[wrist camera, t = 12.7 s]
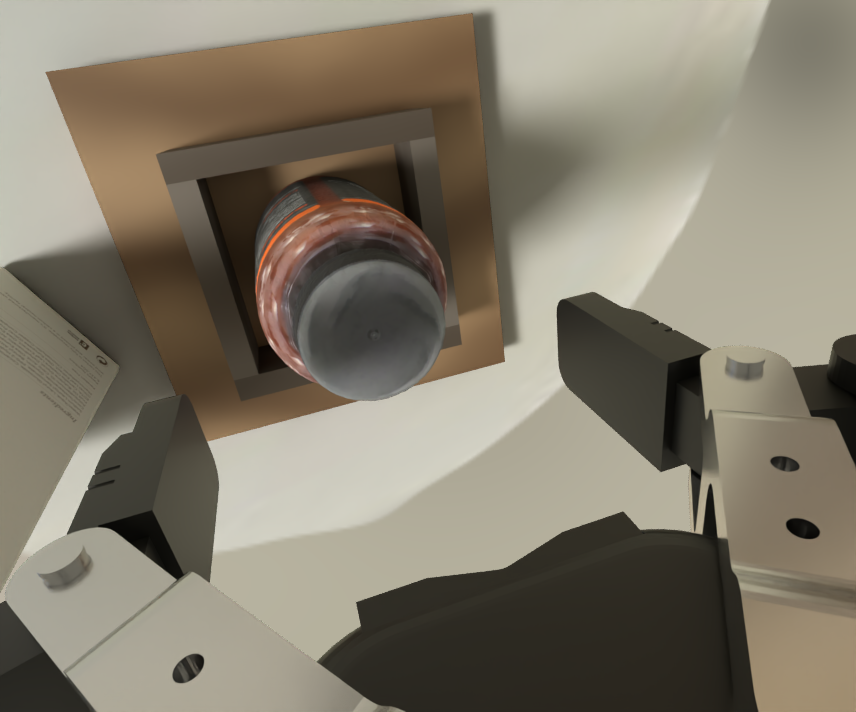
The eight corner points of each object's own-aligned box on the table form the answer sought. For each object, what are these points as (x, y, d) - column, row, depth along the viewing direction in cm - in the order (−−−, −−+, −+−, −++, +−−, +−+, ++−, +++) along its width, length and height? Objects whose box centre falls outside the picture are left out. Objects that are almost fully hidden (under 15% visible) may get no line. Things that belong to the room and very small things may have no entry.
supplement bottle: (244, 295, 24) (233, 423, 14) (267, 156, 22) (273, 190, 12) (374, 318, 26) (446, 443, 16) (405, 193, 24) (508, 247, 14)
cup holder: (59, 74, 20) (11, 65, 16) (460, 19, 23) (501, -1, 19) (199, 428, 27) (189, 481, 23) (494, 350, 30) (529, 386, 26)
